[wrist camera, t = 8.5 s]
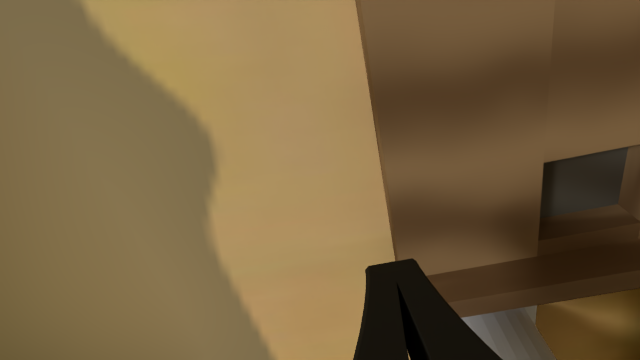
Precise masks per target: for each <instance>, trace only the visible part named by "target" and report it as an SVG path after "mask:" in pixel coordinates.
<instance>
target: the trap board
mask: <svg viewBox="0 0 640 360" xmlns="http://www.w3.org/2000/svg"><path fill="white" fill-rule="evenodd" d="M355 1H356V7H357V14H358V20H359V27H360V33H361V40H362V46H363V53H364V59H365V66H366V72H367V79H368V85H369V92H370V98H371V105H372V111H373V118H374V124H375V131H376V137H377V144H378V150H379V157H380V164H381V170H382V177H383V183H384V190H385V196H386V203H387V209H388V216H389V222H390V229H391V235H392V242H393V248H394V255H395V261H400V260H405V259H411V258H412V259H414V260H416V261H417V263H418V264H419V266H420V268H421V269H422V271H423V272H424V274H425V275H426V276H427V278H428V279H429V280H430V282H431V283H432V284H433V286H434V287H435V288H436V290H437V291H438V292H439V293H440V295H441V296H442V297H443V298H444V299H445V301H446V302H447V303H448V304H449V305H450V306H451V307H452V308H453V310H454V311H455V312H456V313H457V314H458V315H459V316H460V318H464V317H470V316H476V315H482V314H488V313H494V312H500V311H505V310H511V309H517V308H523V307H529V306H535V305H541V304H547V303H553V302H559V301H565V300H571V299H577V298H583V297H589V296H595V295H601V294H607V293H613V292H619V291H625V290H631V289H637V288H640V0H355Z"/></svg>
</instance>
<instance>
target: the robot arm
mask: <svg viewBox="0 0 640 360" xmlns="http://www.w3.org/2000/svg"><path fill="white" fill-rule="evenodd" d="M365 271H366V294H365V303H364V310H363V316H362V322H361V328H360V333H359V337H358V342H357V346H356V350H355V354H354V358H353V360H409V358H408V353H409V356H410V359H411V360H557V359H556V358H555V356H554V355H553V353H552V351H551V350H550V348H549V347H548V345H547V343H546V342H545V340H544V339H543V337H542V335H541V334H540V332H539V331H538V329H537V327H536V326H535V324H536V311H537V305H535V306H529V307H523V308H517V309H511V310H505V311H500V312H494V313H488V314H482V315H476V316H470V317H464V318H460V316H459V315H458V314H457V313H456V312H455V311H454V310H453V308H452V307H451V306H450V305H449V304H448V303H447V302H446V301H445V299H444V298H443V297H442V296H441V295H440V293H439V292H438V291H437V290H436V288H435V287H434V286H433V284H432V283H431V282H430V280H429V279H428V278H427V276H426V275H425V274H424V272H423V271H422V269H421V268H420V266H419V264H418V263H417V261H416V260H414V259H412V258H411V259H405V260H400V261H394V262H389V263H383V264H377V265H372V266H368V267H367V269H366V270H365ZM407 350H408V352H407Z"/></svg>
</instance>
